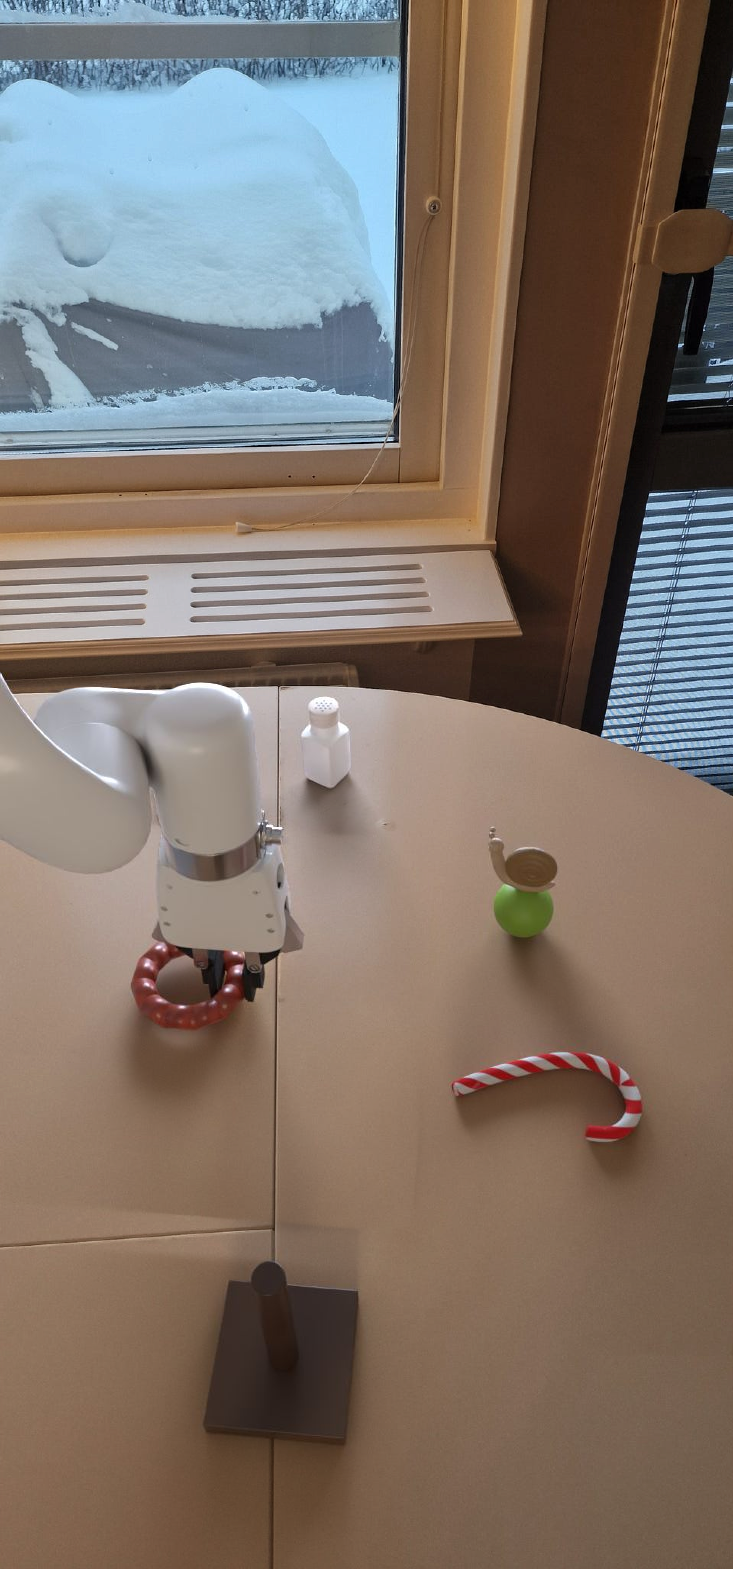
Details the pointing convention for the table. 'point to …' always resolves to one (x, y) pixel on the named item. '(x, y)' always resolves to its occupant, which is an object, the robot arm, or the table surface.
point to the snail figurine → (523, 888)
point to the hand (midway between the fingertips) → (235, 986)
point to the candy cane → (565, 1061)
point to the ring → (185, 1014)
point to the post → (283, 1360)
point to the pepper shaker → (325, 744)
